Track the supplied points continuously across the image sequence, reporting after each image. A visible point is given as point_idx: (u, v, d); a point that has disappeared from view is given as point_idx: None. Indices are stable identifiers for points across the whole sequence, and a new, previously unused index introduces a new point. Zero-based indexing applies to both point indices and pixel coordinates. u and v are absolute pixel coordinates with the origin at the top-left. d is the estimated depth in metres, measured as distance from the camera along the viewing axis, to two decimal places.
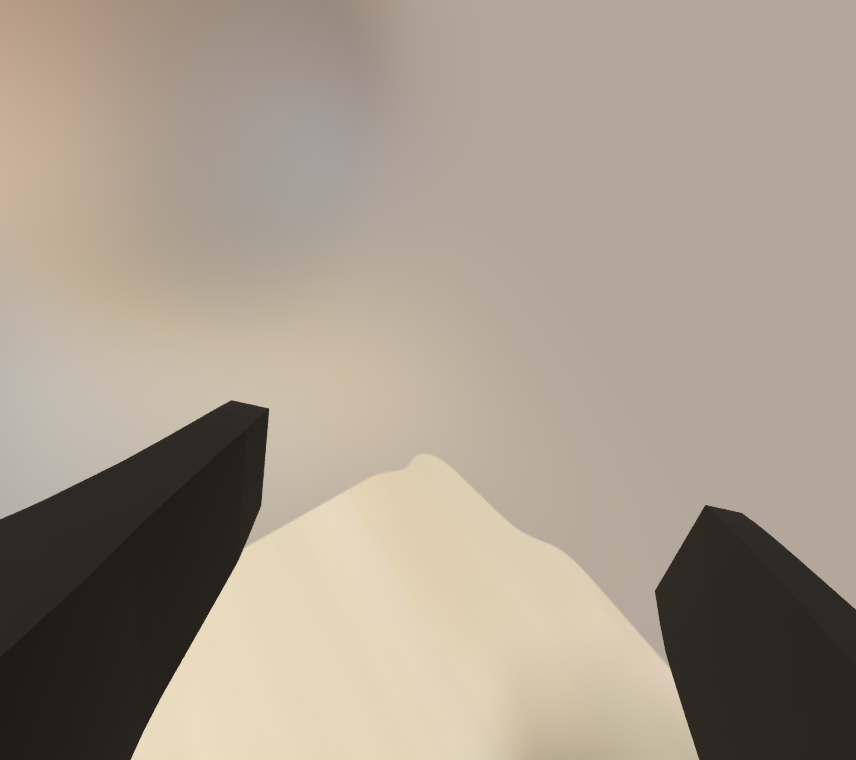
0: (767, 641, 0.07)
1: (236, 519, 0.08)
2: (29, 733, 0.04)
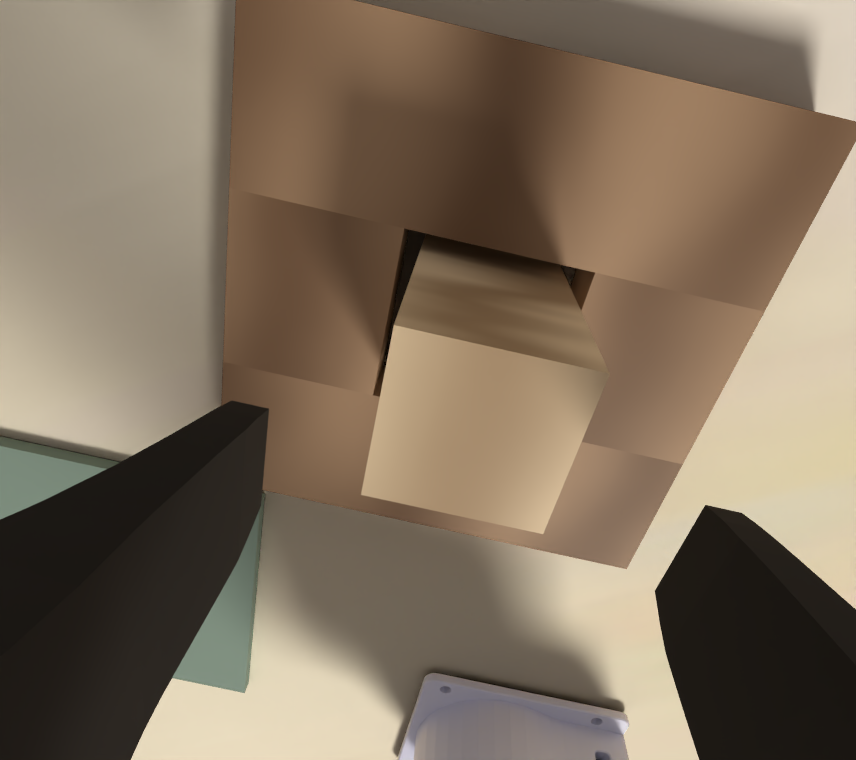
0: (767, 641, 0.07)
1: (236, 519, 0.08)
2: (29, 733, 0.04)
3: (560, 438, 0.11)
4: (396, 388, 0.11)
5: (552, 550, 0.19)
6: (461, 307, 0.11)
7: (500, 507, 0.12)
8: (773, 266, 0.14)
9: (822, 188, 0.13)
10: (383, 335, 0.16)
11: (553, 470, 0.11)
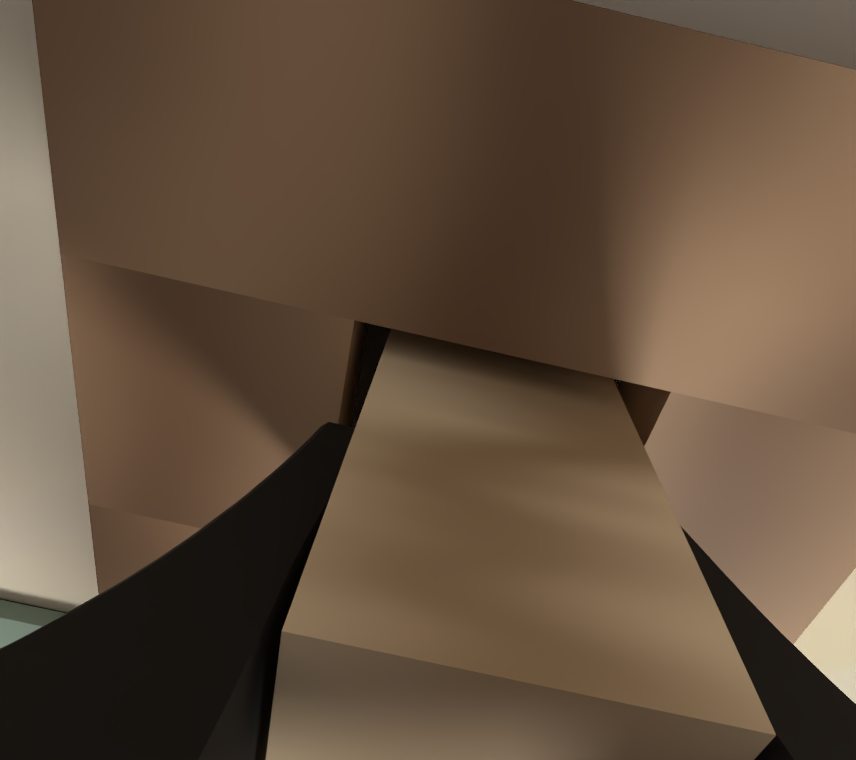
0: None
1: None
2: None
3: None
4: (302, 731, 0.05)
5: None
6: (442, 517, 0.06)
7: None
8: None
9: None
10: None
11: None
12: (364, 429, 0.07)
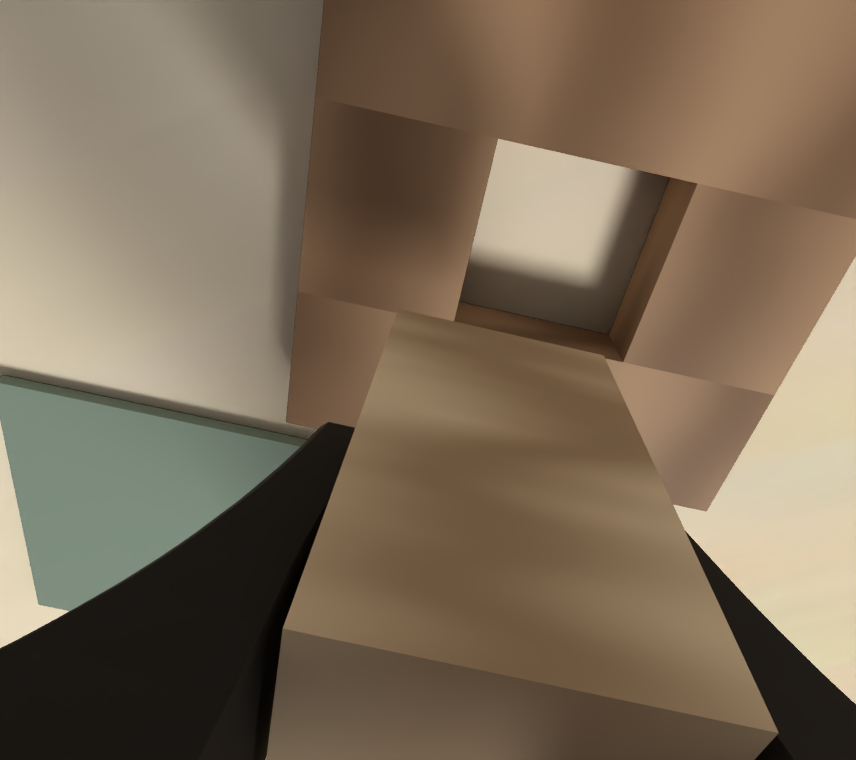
0: None
1: None
2: None
3: None
4: (302, 728, 0.05)
5: None
6: (443, 515, 0.06)
7: None
8: None
9: None
10: (468, 259, 0.15)
11: None
12: (365, 427, 0.07)
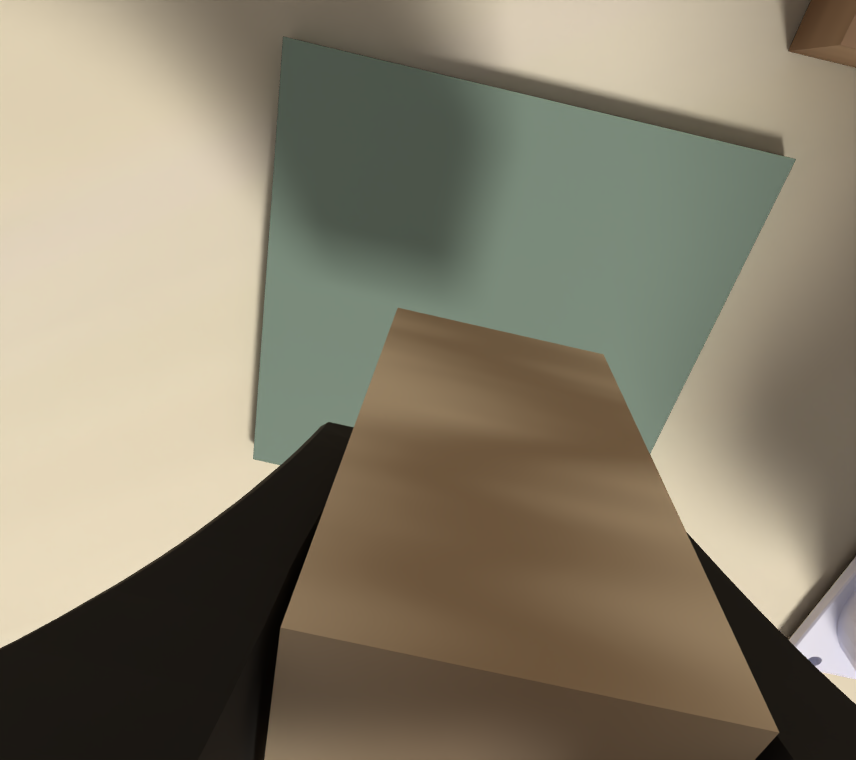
0: None
1: None
2: None
3: None
4: (300, 728, 0.05)
5: None
6: (443, 515, 0.06)
7: None
8: None
9: None
10: None
11: None
12: (364, 426, 0.07)
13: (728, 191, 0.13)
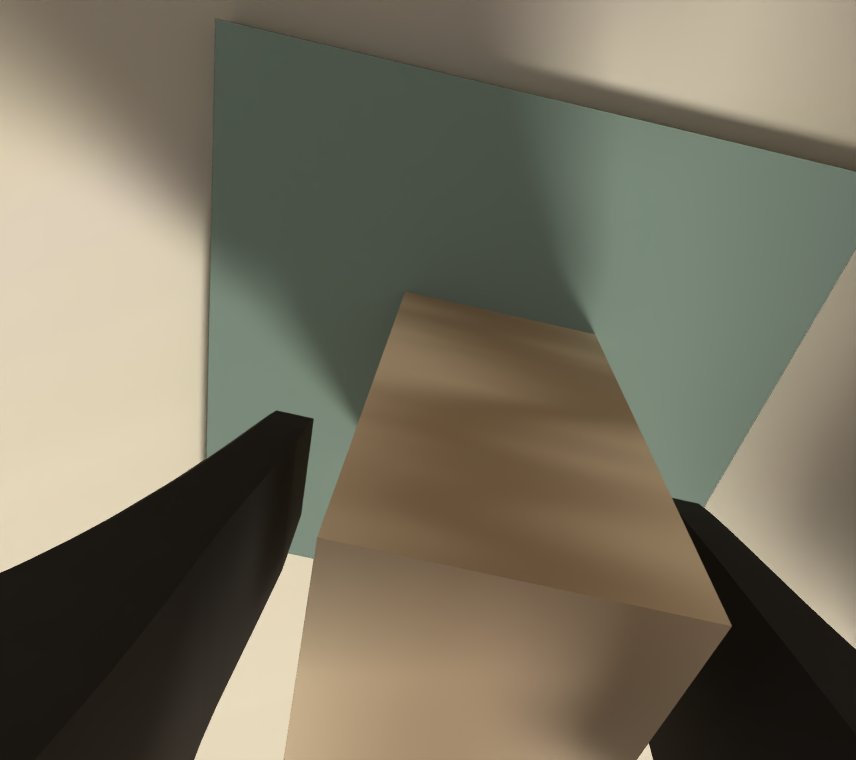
0: None
1: (283, 529, 0.08)
2: (120, 751, 0.04)
3: (628, 712, 0.06)
4: (330, 632, 0.06)
5: None
6: (449, 459, 0.07)
7: None
8: None
9: None
10: None
11: (612, 753, 0.06)
12: (378, 389, 0.08)
13: (803, 222, 0.10)
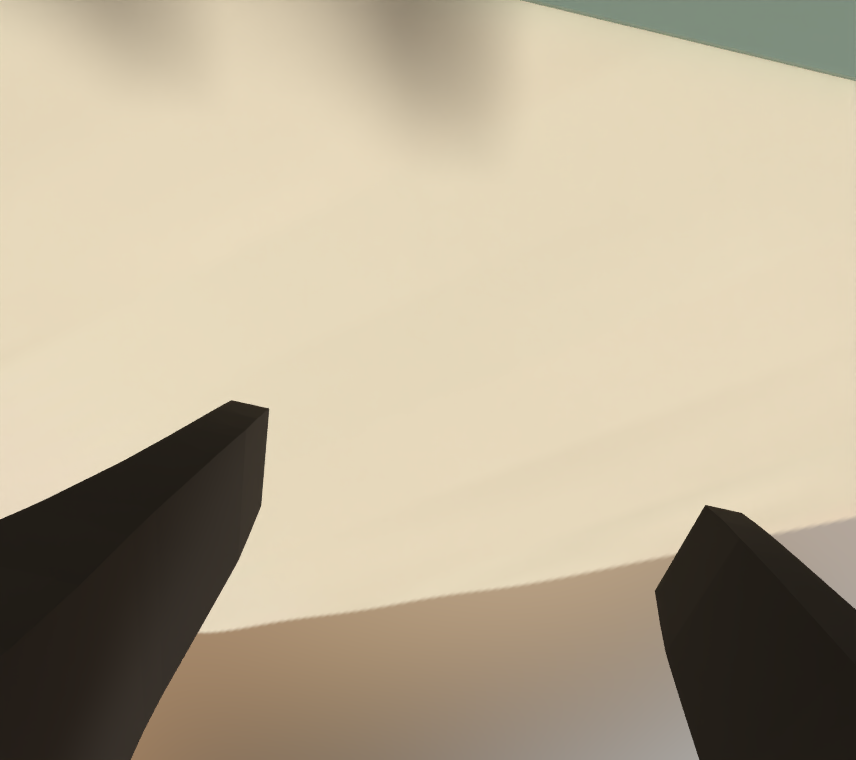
0: (767, 641, 0.07)
1: (236, 519, 0.08)
2: (29, 733, 0.04)
3: None
4: None
5: None
6: None
7: None
8: None
9: None
10: None
11: None
12: None
13: None
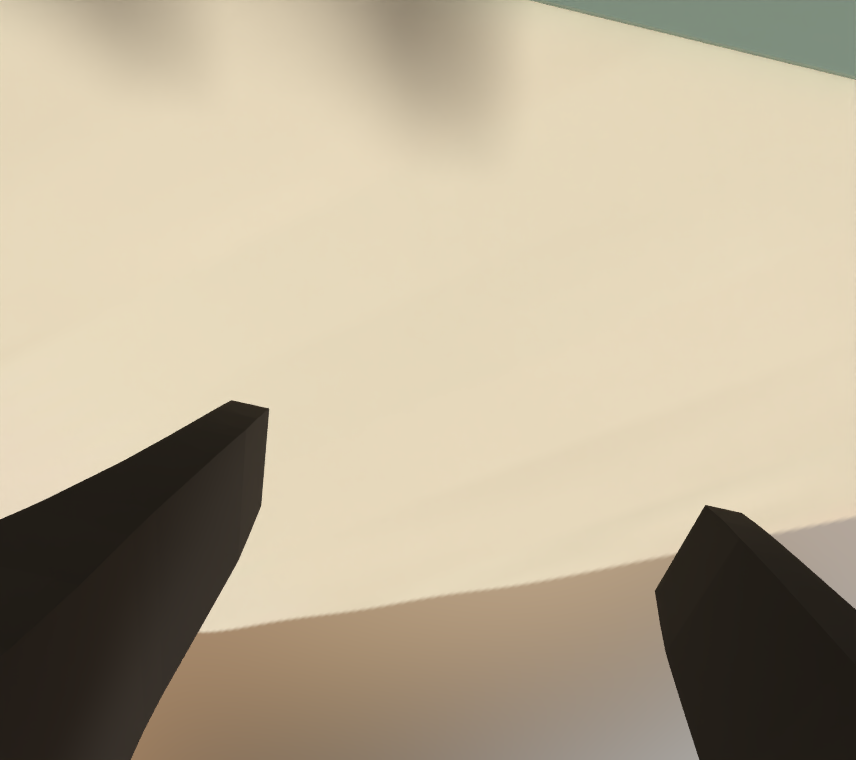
0: (767, 641, 0.07)
1: (236, 519, 0.08)
2: (29, 732, 0.04)
3: None
4: None
5: None
6: None
7: None
8: None
9: None
10: None
11: None
12: None
13: None
